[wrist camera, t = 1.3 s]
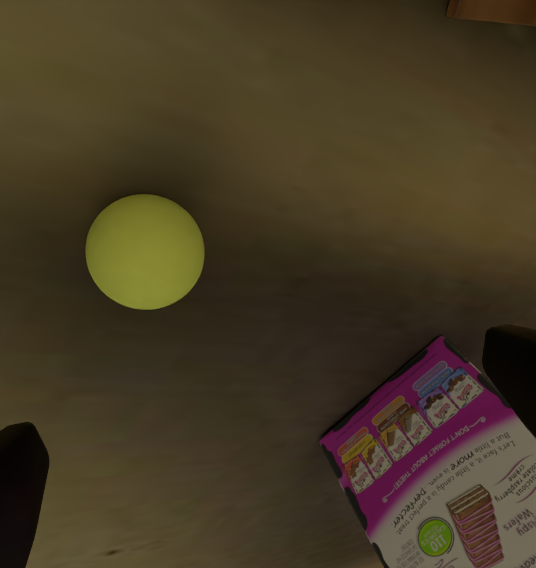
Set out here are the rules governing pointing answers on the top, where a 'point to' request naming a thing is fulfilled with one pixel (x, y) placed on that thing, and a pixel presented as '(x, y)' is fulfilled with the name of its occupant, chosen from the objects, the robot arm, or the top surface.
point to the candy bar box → (439, 468)
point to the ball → (144, 251)
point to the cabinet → (494, 11)
